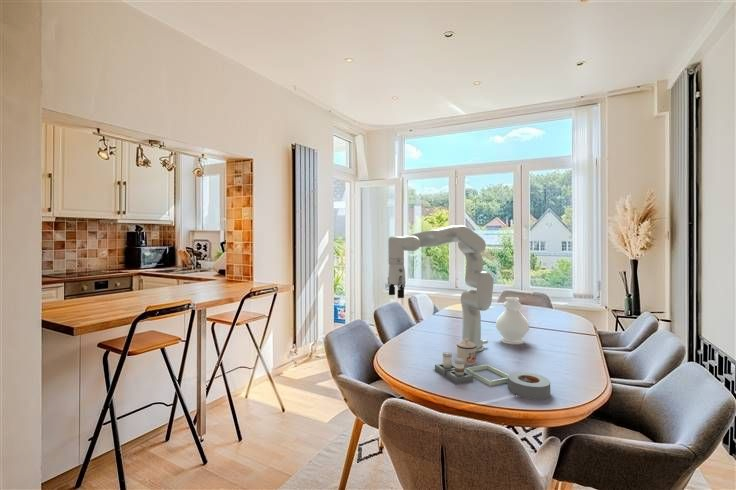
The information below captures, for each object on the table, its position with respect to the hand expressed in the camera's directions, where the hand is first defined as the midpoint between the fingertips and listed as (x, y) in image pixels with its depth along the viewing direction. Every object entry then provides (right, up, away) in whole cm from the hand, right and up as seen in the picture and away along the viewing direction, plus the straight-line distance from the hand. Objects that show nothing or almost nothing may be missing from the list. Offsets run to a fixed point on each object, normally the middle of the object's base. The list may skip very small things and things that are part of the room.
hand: (396, 296), depth 177 cm
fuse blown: (+25, -31, -26) cm, 47 cm away
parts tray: (+38, -32, -23) cm, 54 cm away
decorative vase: (+69, -30, +30) cm, 81 cm away
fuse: (+21, -31, -17) cm, 41 cm away
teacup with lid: (+34, -31, -4) cm, 47 cm away
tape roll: (+49, -32, -36) cm, 69 cm away
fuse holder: (+23, -32, -21) cm, 45 cm away
